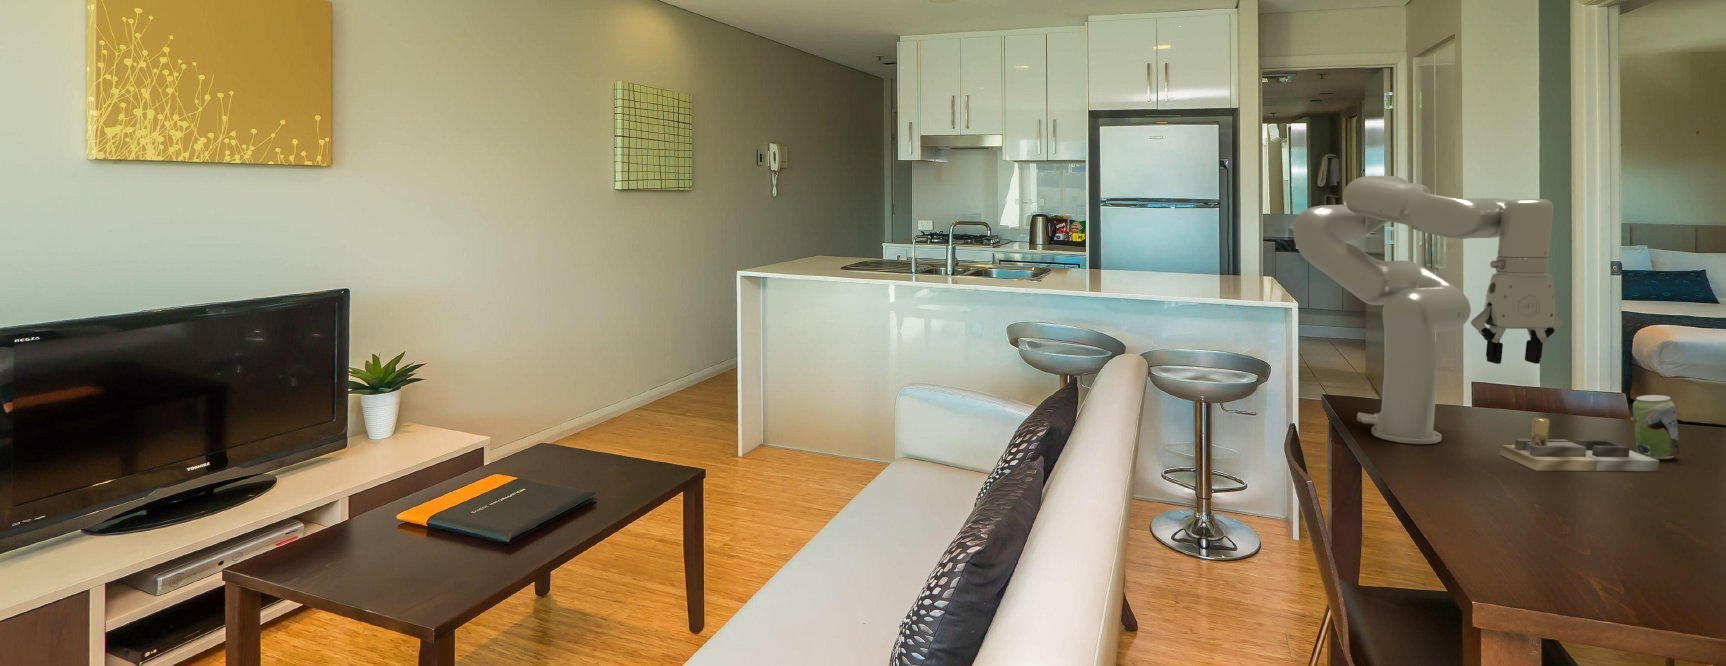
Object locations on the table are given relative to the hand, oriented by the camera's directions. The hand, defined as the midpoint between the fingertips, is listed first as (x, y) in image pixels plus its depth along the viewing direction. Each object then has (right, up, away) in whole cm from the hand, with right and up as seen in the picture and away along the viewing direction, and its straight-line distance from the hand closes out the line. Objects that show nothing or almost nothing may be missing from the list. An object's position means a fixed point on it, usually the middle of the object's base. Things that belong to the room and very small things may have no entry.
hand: (1513, 361), depth 160 cm
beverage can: (+30, -19, +4) cm, 36 cm away
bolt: (+9, -17, +2) cm, 19 cm away
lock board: (+13, -19, +2) cm, 24 cm away
